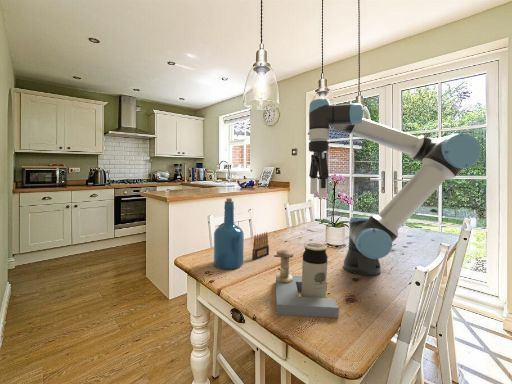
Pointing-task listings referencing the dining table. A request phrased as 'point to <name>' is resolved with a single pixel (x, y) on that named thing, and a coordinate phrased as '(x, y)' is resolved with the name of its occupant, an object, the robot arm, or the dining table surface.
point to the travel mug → (314, 270)
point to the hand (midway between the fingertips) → (317, 195)
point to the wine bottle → (228, 241)
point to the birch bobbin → (284, 266)
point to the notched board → (302, 301)
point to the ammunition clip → (260, 246)
